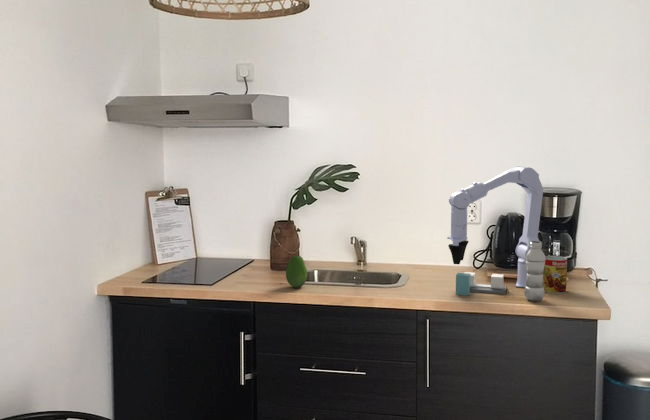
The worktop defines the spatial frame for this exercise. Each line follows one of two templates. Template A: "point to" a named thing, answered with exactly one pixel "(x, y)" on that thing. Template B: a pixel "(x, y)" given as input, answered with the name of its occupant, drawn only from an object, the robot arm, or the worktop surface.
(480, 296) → the worktop surface
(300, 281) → the avocado
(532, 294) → the plastic bottle
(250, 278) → the worktop surface
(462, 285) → the block
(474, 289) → the rail board
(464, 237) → the robot arm
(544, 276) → the canned food
